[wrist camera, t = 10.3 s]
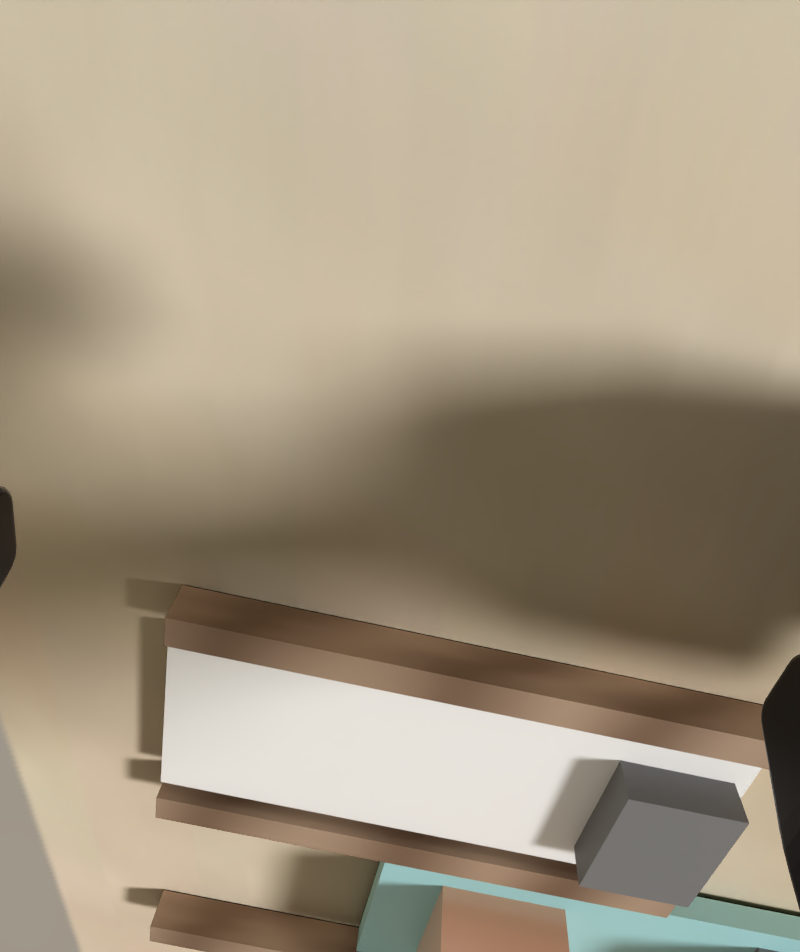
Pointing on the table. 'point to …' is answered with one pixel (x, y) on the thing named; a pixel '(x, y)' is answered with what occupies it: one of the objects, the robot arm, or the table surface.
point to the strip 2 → (575, 919)
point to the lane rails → (432, 678)
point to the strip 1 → (454, 774)
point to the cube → (492, 925)
